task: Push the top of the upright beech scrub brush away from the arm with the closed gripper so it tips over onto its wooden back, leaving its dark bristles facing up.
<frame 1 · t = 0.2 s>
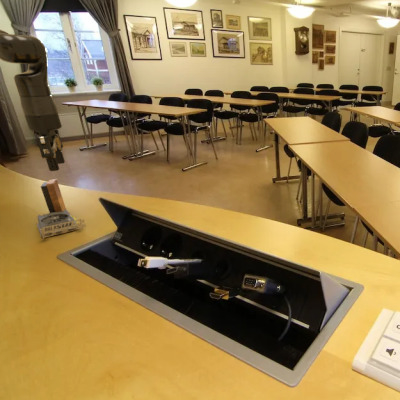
hand: (57, 166, 98), 23 cm above the table, tool pointing down, fingers open, 8 cm apart
brush: (60, 214, 120), on the table
graphics card: (61, 226, 112), on the table
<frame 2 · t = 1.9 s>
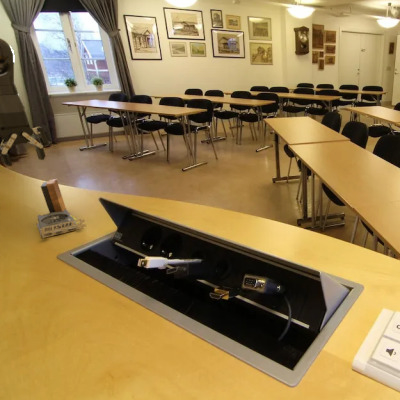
hand: (26, 162, 102), 23 cm above the table, tool pointing down, fingers open, 8 cm apart
nothing on the table moved.
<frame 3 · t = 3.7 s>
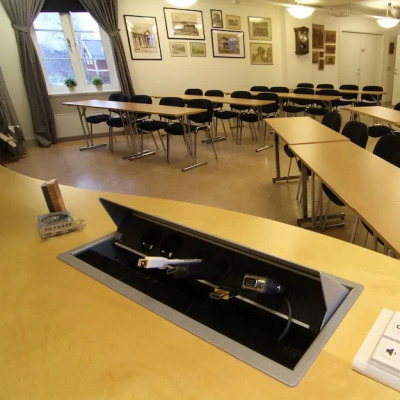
hand: (3, 158, 107), 23 cm above the table, tool pointing down, fingers open, 7 cm apart
nothing on the table moved.
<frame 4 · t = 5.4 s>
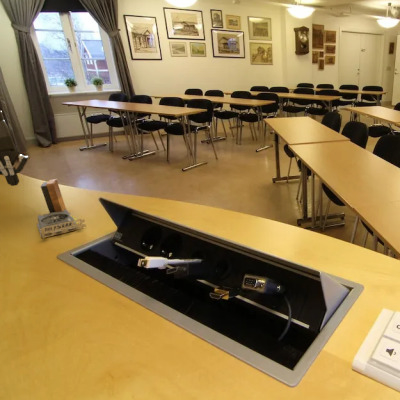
hand: (14, 184, 111), 13 cm above the table, tool pointing down, fingers closed
nothing on the table moved.
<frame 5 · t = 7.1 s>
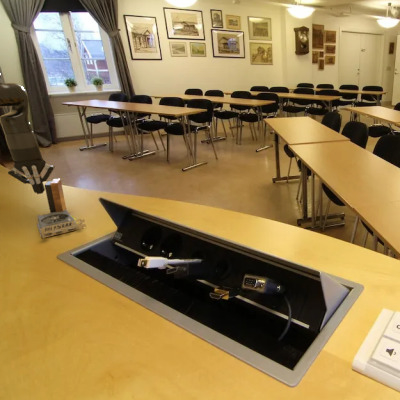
hand: (40, 193, 115), 9 cm above the table, tool pointing down, fingers closed
brush: (60, 214, 120), on the table, tilted 5°
everything else where it was.
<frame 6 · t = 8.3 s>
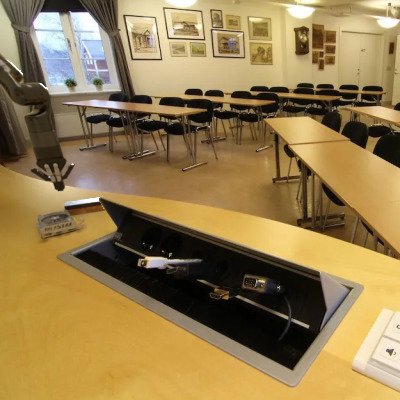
hand: (60, 190, 118), 9 cm above the table, tool pointing down, fingers closed
brush: (64, 209, 120), point 2 cm above the table, tilted 90°
everything else where it was.
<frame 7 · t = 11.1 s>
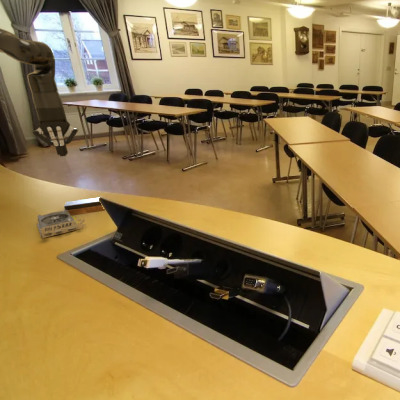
hand: (63, 155, 115), 22 cm above the table, tool pointing down, fingers closed
nothing on the table moved.
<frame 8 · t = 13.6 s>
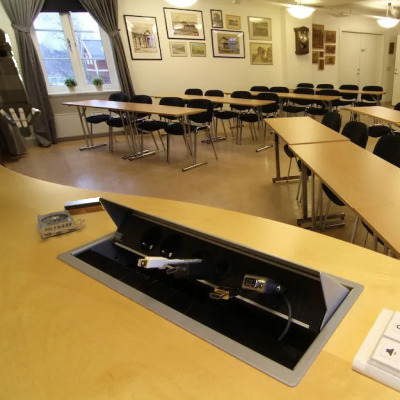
hand: (27, 136, 120), 27 cm above the table, tool pointing down, fingers closed
nothing on the table moved.
at the end: brush tilted 90°; brush inside the target area (2.3 cm from its centre), point 1.5 cm above the table; graphics card moved 0.2 cm from its start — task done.
